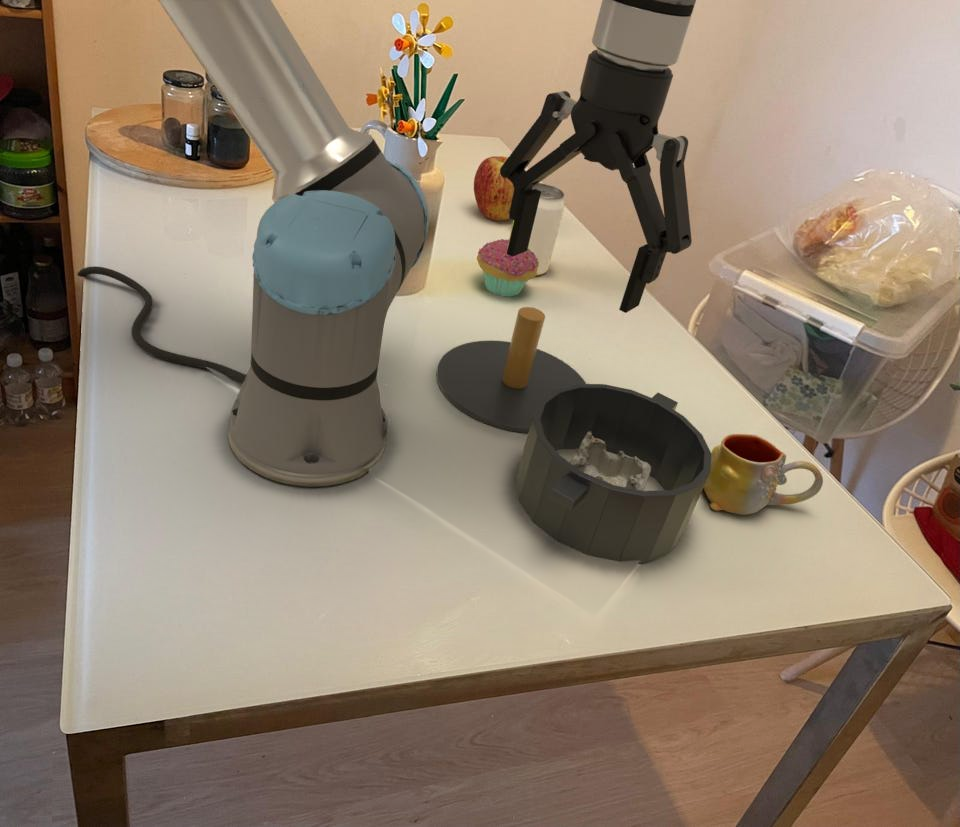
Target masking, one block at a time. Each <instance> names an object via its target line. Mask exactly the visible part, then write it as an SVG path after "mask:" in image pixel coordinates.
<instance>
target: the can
mask: <svg viewBox="0 0 960 827" xmlns="http://www.w3.org/2000/svg"><path fill="white" fill-rule="evenodd" d="M533 189H537V190H539V191H541V195H540V200H539V204H538V208H537V212H536V216H535V220H534V225H533V229H532V233H531V237H530V241H529V245H528V249H530V251H532V252H533V253H534V255H536V259H538V262H539V264H538V265H539V266H538V267H537V273H536V275H535V277H538V276H542V275H544V274H545V273H547V272H548V270H549V267H550V264H551V260H552V256H553V253H554V247H555V245H556V241H557V237H558V233H559V230H560V225H561V222H562V218H563V214H564V209H565V202H564V197H565V193H564V192H563V191H562V189H560V188H558V187H556V186H555V185H551V184H547V183H542V182H539V183H538V185H537V186H533V188H532V190H533Z"/></svg>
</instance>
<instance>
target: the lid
mask: <svg viewBox="0 0 960 827" xmlns="http://www.w3.org/2000/svg"><path fill="white" fill-rule="evenodd" d="M545 320H546V314H545V313H544V312H543V311H541V309H538V308H535V307H531V306H523V307H520V308H519V309H518V311H517V315H516V319H515V323H514V327H513V331H512V334H511V335H512V336H511V339H510V341H504V340H477V341H470V342H466V343H463V344H460V345H457V346H455V347H453V348H451V349H450V350H448V351H447V352H446V353H444V355H443V356H442V357H441V358H440V360H439V362H438V365H437V368H436V381H437V382H436V383H437V384H438V387H439V389H440V391H441V393H442V394H443V396H444V397H445V398H446V399H447V400H448V401H449V402H450V403H451V404H452V405H453V406H454V407H456V408H457V409H458V410H459V411H461V412H463V413H464V414H466V415H467V416H469V417H471V418H472V419H474V420H477V421H478V422H481V423H483V424H485V425H488V426H492V427H494V428H497V429H501V430H506V431H508V432H509V431H510V432H517V433H522V434H523V433H524V434H528V432H529V429H530V425H531V422H532V418H533V415H534V413H535V410H536V407H537V405H538V402H539V401H540V400H541V399H542V398H544V397H545V396H546V395H548V394H549V393H550V392H552V391H553V390H555V389H559V388H563V387H567V386H571V385H575V384H587V383H586V381H585V380H584V379H583V377H582V376H581V375H580V374H579V373H578V372H577V371H576V370H575V369H574V368H573V367H572V366H571V365H569V364H568V363H566V362H565V361H564V360H562V359H560V358H558V357H556V356H555V355H553V354H550V353H548V352H546V351H544V350H542V349H539V348H538V346H539V342H540V337H541V334H542V330H543V327H544V323H545Z"/></svg>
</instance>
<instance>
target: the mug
mask: <svg viewBox="0 0 960 827" xmlns="http://www.w3.org/2000/svg"><path fill="white" fill-rule="evenodd" d="M710 452H711V454H712V455H711V472H710V474H709V477H708V479H707V481H706V483H705V486H704V488H703V491H704V493H705V495H706V497H707V499H708V501H710V505H709V506H710V509H712V510H713V511H717V512H718V511H723V512H724V511H725V512H727V513H729V514H736V515H742V516H743V515H744V516H747V515H754V514H755V513H756V514H757V513H758V512H759V511H760V510H762V509H763V508H764V507H766V506H783V505H784V506H785V505H795V504H798V503H802V502H805V501H807V500H809V499H811V498H813V497H815V496H816V495H817V494H818V493H819V492H820V491H821V489H822V488H823V483H824V478H823V475H822V473H821V471H820V469H819V468H818V466H816V465H815V464H813V463H811V462H808V461H804V460H798V461H793V462H789V463H787V464H786V461H787V454H786V453H785V452H784V451H781V450H780V449H779V448H778V447H776V446H775V444H773V443H772V442H770V441H768V440H767V439H765V438H763V437H761V436H759V435H756V434H749V433H731V434H728V435H726V436H725V437H723V438H722V440H721V442H720V444H718V445H715V446H714V447H713V448H712V450H711V451H710ZM793 470H807V471H809V472H811V473H812V474H813V477H814V480H813V482H812V484H811V485H810V487H808V489H806V490H804V491H802V492H799V493H792V494H791V493H789V494H784V493H778V492H777V487H778V486H783V485H785V484H786V483H787V482H788V478H787V476H786V473H788V472H790V471H793Z"/></svg>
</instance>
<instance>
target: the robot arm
mask: <svg viewBox="0 0 960 827" xmlns="http://www.w3.org/2000/svg"><path fill="white" fill-rule="evenodd" d="M157 1H158V2H159V4H160V5H161V7H162V9H163V10H164V12H165V13H166V14H167V16H168V18H169V19H170V21H171V22H172V24H173V25H174V26H175V28H176V30H177V31H178V33H179V34H180V36H181V37H182V39H183V40H184V41H185V43H186V44H187V46H188V48H189V49H190V50H191V52H192V54H193V55H194V56H195V58H196V60H197V61H198V63H199V64H200V66H201V67H202V68H203V70H204V72H205V73H206V75H207V76H208V77H209V79H210V81H211V82H212V83H213V85H214V86H215V88H216V90H217V91H218V93H219V94H220V96H221V97H222V98H223V100H224V102H225V103H226V104H227V106H228V108H229V109H230V110H231V112H232V113H233V115H234V117H235V118H236V119H237V121H238V122H239V124H240V125H241V127H242V128H243V130H244V131H245V133H246V134H247V136H248V137H249V139H250V141H251V142H252V143H253V146H255V148H256V149H257V151H258V152H259V154H260V156H261V157H262V158H263V160H264V162H265V163H266V164H267V165H268V167H269V169H270V170H271V172H272V175H273V177H274V180H273V188H272V195H271V200H272V201H273V204H271V205H270V206H269V207H268V208H267V209H266V210H265V212H264V213H263V215H262V216H261V218H260V220H259V222H258V225H257V231H256V238H255V241H254V244H253V251H252V257H251V259H252V267H253V285H252V286H253V288H252V311H251V312H252V314H251V315H252V316H251V318H252V320H251V345H250V346H251V348H250V350H251V352H250V354H251V355H250V367H249V369H248V371H247V373H243V372H241V371H238V370H236V369H233V368H231V367H228V366H225V365H223V364H219V363H217V362H213V361H210V360H205V359H203V358H202V359H201V358H197V357H192V356H187V355H183V354H179V353H175V352H171V351H169V350H168V351H167V350H165V349H162V348H159V347H157V346H155V345H153V344H151V343H150V342H148V341H147V340H146V339H144V338H143V336H142V334H141V329H142V326H143V325H144V323H145V321H146V319H147V318H148V317H149V315H150V313H151V311H152V308H153V305H154V304H153V302H154V300H153V296H152V294H150V292H149V291H148V290H147V289H146V288H145V287H144V286H142V284H140V283H139V282H137V281H136V280H134V279H132V278H131V277H129V276H128V275H126V274H123V273H121V272H119V271H117V270H114V269H111V268H108V267H104V266H95V265H94V266H86V267H84V268H81V269H80V270H79V271H78V272H77V274H76V275H77V276H78V277H81V278H83V277H87V276H90V275H101V276H106V277H109V278H112V279H115V280H117V281H118V282H121V283H122V284H124V285H126V286H128V287H130V289H132V290H134V291H135V292H137V293H138V294H139V295H140V296H141V297H142V298H143V301H144V303H143V307H142V309H141V310H140V312H139V313H138V315H137V316H136V318H135V319H134V321H133V323H132V325H131V337H132V339H133V341H134V342H135V344H136V345H137V346H138V347H140V348H141V349H142V350H143V351H145V352H146V353H148V354H149V355H151V356H154V357H157V358H160V359H162V360H166V361H169V362H173V363H176V364H181V365H186V366H190V367H195V368H199V369H203V370H207V371H210V370H213V371H216V372H218V373H220V374H222V375H224V376H226V377H229V378H231V379H233V380H235V381H237V382H240V383H242V384H241V387H240V389H239V392H238V394H237V397H236V399H235V400H234V402H233V405H232V407H231V410H230V413H229V416H228V443H229V447H230V448H231V451H232V452H233V454H234V455H235V457H236V459H238V460H239V461H240V462H241V463H242V464H243V465H244V466H245V467H246V468H248V469H249V470H251V471H252V472H254V473H256V474H257V475H259V476H262V477H263V478H266V479H268V480H272V481H274V482H277V483H281V484H285V485H290V486H296V487H297V486H298V487H309V488H310V487H311V488H314V487H315V488H316V487H327V486H335V485H340V484H344V483H348V482H350V481H353V480H356V479H358V478H360V477H362V476H364V475H366V474H367V473H368V472H369V470H370V469H371V468H372V467H374V466H375V465H376V464H377V463H378V462H379V460H380V459H381V457H382V456H383V454H384V452H385V449H386V445H387V444H386V443H387V439H388V433H389V431H388V429H389V428H390V425H388V424H391V423H390V422H391V420H389V423H388V422H387V418H386V414H385V411H384V409H383V407H382V403H381V394H380V389H379V384H378V379H377V378H378V370H379V361H380V355H381V348H382V342H383V334H384V328H385V323H386V319H387V318H386V317H387V314H388V312H389V309H390V307H391V305H392V303H393V301H394V299H395V298H396V296H397V294H398V292H399V291H400V289H401V287H402V285H403V284H404V282H405V281H406V279H407V276H408V275H409V273H410V271H411V269H412V268H413V267H415V265H416V264H417V262H418V261H419V259H420V256H421V255H422V254H423V251H424V248H425V244H426V242H427V236H428V232H429V226H430V214H429V206H428V204H427V203H428V201H427V199H426V196H425V194H424V191H423V189H422V188H421V185H420V184H419V182H418V181H417V180H416V179H415V177H414V176H413V174H411V173H410V172H409V171H408V170H407V169H405V168H404V167H403V166H401V165H399V164H398V163H393V162H392V161H389V160H387V158H386V156H385V155H384V153H383V152H382V150H381V148H380V147H379V145H378V144H377V142H376V139H375V138H374V137H373V136H372V134H370V133H367V132H363V131H359V130H355V129H353V128H352V127H349V125H348V123H347V122H346V121H345V119H344V117H343V115H342V114H341V112H340V110H339V109H338V107H337V106H336V104H335V102H334V101H333V99H332V98H331V96H330V94H329V92H328V91H327V89H326V87H325V86H324V84H323V82H322V81H321V79H320V78H319V77H318V76H319V75H317V73H316V71H315V69H314V68H313V67H312V65H311V63H310V62H309V59H308V58H307V57H306V55H305V53H304V52H303V50H302V49H301V48H302V47H300V45H299V43H298V42H297V40H296V38H295V37H294V35H293V34H292V32H291V31H290V28H288V26H287V24H286V23H285V21H284V19H283V17H282V15H281V14H280V13H279V11H278V9H277V7H276V5H275V4H274V3H273V1H272V0H157ZM696 2H697V0H601V4H600V8H599V12H598V16H597V20H596V24H595V27H594V31H593V34H592V38H591V43H592V45H593V46H594V48H596V49H594V50H592V51H591V52H590V53H588V56H587V59H586V63H585V68H584V70H583V75H582V78H581V83H580V87H579V92H580V93H579V94H580V95H579V98H578V99H577V100H575V99H573V98H572V97H571V94H570V92H568V91H567V90H563V91H562V90H561V91H556V92H551V93H548V94H547V95H546V96H545V100H544V102H543V105H542V108H541V112H540V115H539V116H538V117H537V119H536V120H535V121H534V122H533V124H532V125H531V126H530V128H529V129H528V131H527V132H526V133H525V134H524V136H523V137H522V139H521V140H520V142H519V143H518V144H517V145H516V146H515V148H514V149H513V151H512V152H511V153H510V155H509V156H507V157H508V159H507V160H506V161H505V163H504V164H503V165H502V167H501V168H500V174H501V176H502V177H503V178H508V179H509V180H510V181H511V182H512V184H513V187H514V193H513V197H512V202H511V206H510V211H509V218H508V219H510V220H512V221H513V220H514V223H513V222H512V224H513V228H512V227H511V229H512V232H511V231H510V233H511V237H510V236H509V238H510V241H509V245H508V250H507V254H508V255H510V256H512V257H513V256H516V255H518V254H521V253H523V252H525V251H527V249H528V245H529V241H530V237H531V233H532V229H533V225H534V220H535V216H536V212H537V208H538V204H539V200H540V195H541V191H539V190H537V189H533V190H532V188H533V186H537V185H538V183H542V181H544V180H545V179H546V178H548V177H549V176H551V175H552V174H553V173H555V172H556V171H558V170H559V169H560V168H562V167H563V166H564V165H566V164H567V163H568V162H570V161H572V160H573V159H574V158H576V157H577V156H578V155H580V154H581V155H582V156H583V159H584V160H586V161H588V162H590V163H598V164H600V165H601V166H602V167H604V168H605V169H607V170H610V171H612V172H613V171H617V170H618V171H619V172H618V173H619V174H620V178H621V180H622V181H623V182H624V183H625V184H626V186H627V189H628V193H629V195H630V198H631V201H632V203H633V207H634V208H635V209H634V210H635V212H636V215H637V218H638V221H639V224H640V227H641V230H642V233H643V236H644V239H645V242H646V244H644V245H642V246H639V247H638V249H637V252H636V257H635V259H634V263H633V266H632V269H631V272H630V274H629V278H628V281H627V283H626V287H625V289H624V292H623V297H622V299H621V302H620V305H619V309H618V310H619V311H620V312H623V313H624V314H627V313H629V312H630V311H633V309H635V308H637V307H639V306H640V304H641V300H642V297H643V294H644V291H645V288H646V286H647V285H649V284H651V283H652V282H654V281H656V280H657V279H658V278H659V276H660V273H661V271H662V267H663V264H664V261H665V259H666V255H667V253H671V254H673V255H676V254H679V253H680V252H682V251H685V250H687V249H689V247H691V246H692V231H691V221H690V210H689V202H688V201H689V200H688V191H687V190H688V189H687V180H686V179H687V178H686V170H685V160H686V156H687V152H688V148H689V139H688V138H687V136H685V135H679V136H676V137H674V136H670V135H666V134H662V133H659V121H660V118H661V115H662V114H663V111H664V107H665V104H666V101H667V97H668V95H669V91H670V87H671V85H672V81H673V78H674V74H673V71H672V69H671V68H670V67H671V66H673V65H675V64H677V63H678V61H679V59H680V58H679V57H680V55H681V51H682V47H683V44H684V41H685V38H686V34H687V32H688V28H689V25H690V21H691V19H692V15H693V11H694V8H695V5H696ZM569 117H570V119H571V123H572V126H573V130H574V133H573V134H572V135H571V136H569V137H568V138H567V139H565V140H564V141H563V142H561V143H560V144H559V146H558V147H556V148H555V149H553V150H552V151H551V152H550V153H548V154H547V155H546V156H544V157H543V158H542V159H540V160H539V161H537V163H536V162H535V163H534V165H532V166H531V167H529V168H528V169H527V167H528V166H529V165H530V163H531V162H532V161H533V160H534V158H535V157H536V156H537V154H538V153H539V152H540V151H541V149H542V148H543V147H544V145H545V144H546V143H547V142H548V140H549V139H550V138H551V137H552V135H553V134H554V132H556V130H557V129H558V128H559V126H560V125H561V124H562V122H563V121H564V120H567V119H568V118H569ZM653 148H654V149H655V152H656V157H655V158H656V159H657V160H658V162H659V178H660V179H659V180H660V188H661V196H662V205H663V206H661V203H660V199H659V197H658V193H657V190H656V188H655V185H654V182H653V179H652V176H651V171H652V168H651V165H650V162H649V159H648V156H647V153H648V152H649V151H651V150H652V149H653ZM526 169H527V170H526ZM391 416H392V415H390V417H389V418H391ZM387 423H388V424H387Z"/></svg>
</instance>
